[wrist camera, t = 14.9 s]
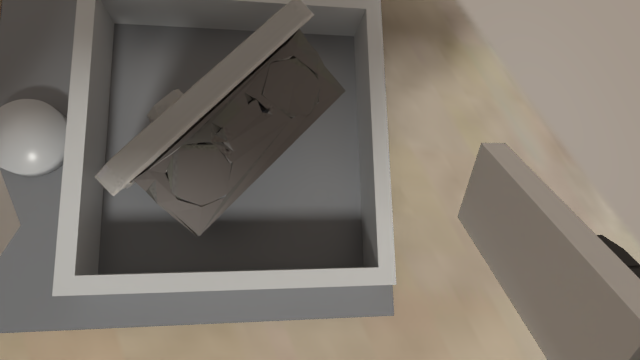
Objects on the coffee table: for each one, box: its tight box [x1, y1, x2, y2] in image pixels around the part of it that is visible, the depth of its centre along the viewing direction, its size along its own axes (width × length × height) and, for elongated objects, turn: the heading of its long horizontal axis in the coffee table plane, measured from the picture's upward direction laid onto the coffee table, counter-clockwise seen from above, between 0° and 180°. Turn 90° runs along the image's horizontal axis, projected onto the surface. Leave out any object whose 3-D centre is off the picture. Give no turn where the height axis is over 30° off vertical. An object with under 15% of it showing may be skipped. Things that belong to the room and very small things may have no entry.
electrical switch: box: [94, 0, 345, 236], centre depth 19 cm, size 9×5×9 cm, turn 137°
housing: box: [0, 0, 396, 333], centre depth 22 cm, size 20×18×4 cm
